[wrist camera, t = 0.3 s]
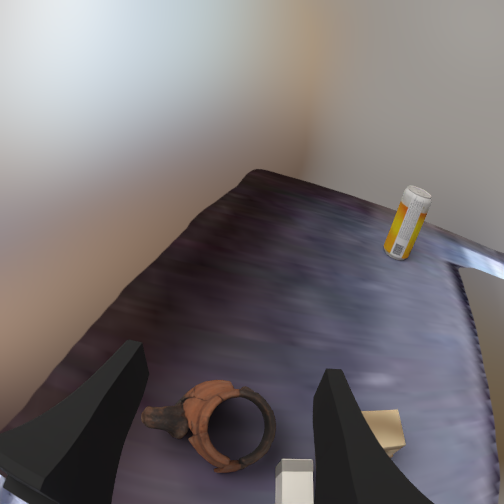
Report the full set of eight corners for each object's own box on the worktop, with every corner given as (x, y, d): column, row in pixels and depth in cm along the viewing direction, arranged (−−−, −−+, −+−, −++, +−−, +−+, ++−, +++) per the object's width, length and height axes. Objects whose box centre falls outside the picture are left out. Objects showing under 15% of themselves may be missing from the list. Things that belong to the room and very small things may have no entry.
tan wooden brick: (377, 467, 25) (408, 444, 21) (312, 471, 25) (336, 451, 21) (372, 435, 28) (400, 408, 25) (311, 437, 28) (332, 411, 25)
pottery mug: (239, 383, 34) (279, 374, 27) (246, 460, 29) (289, 469, 23) (133, 381, 28) (147, 373, 22) (139, 469, 24) (156, 487, 17)
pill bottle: (406, 251, 65) (430, 191, 56) (408, 265, 60) (435, 201, 51) (382, 242, 66) (404, 181, 58) (382, 256, 61) (407, 190, 53)
